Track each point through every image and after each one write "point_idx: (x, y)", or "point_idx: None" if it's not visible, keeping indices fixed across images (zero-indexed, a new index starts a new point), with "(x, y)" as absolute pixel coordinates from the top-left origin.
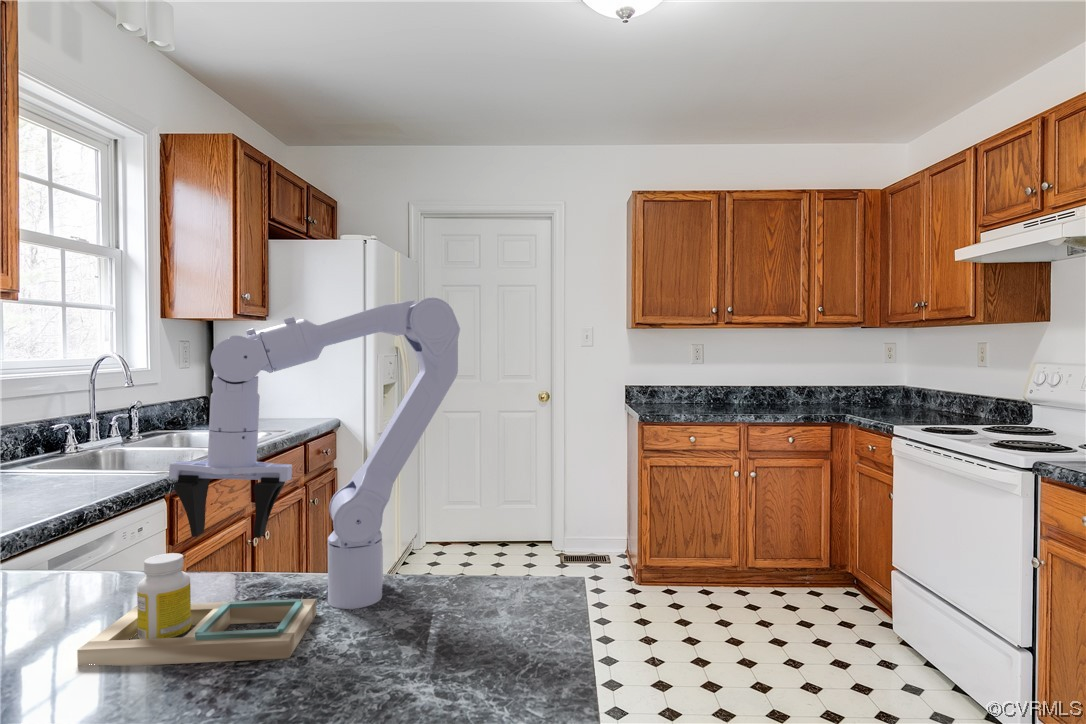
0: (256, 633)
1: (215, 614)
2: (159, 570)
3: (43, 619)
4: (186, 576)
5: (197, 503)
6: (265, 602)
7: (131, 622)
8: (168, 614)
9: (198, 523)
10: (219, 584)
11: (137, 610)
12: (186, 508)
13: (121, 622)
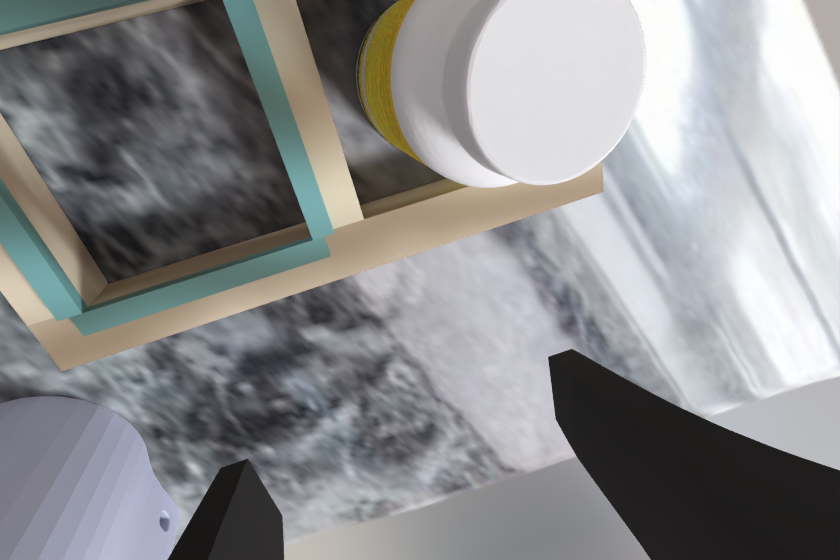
0: None
1: (296, 150)
2: None
3: (790, 149)
4: (417, 121)
5: (691, 522)
6: (194, 279)
7: None
8: (394, 9)
9: (588, 416)
10: (512, 415)
11: None
12: (727, 438)
13: None
